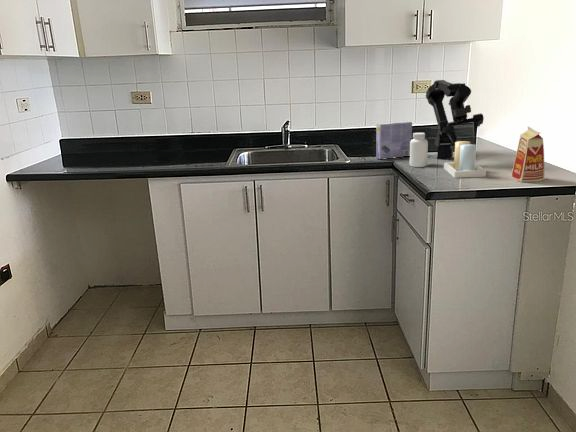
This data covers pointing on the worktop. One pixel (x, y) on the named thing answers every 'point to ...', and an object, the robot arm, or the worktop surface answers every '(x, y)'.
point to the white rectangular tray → (462, 174)
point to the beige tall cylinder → (458, 153)
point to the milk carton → (529, 158)
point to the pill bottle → (418, 150)
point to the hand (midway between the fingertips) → (464, 139)
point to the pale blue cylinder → (467, 157)
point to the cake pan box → (393, 140)
